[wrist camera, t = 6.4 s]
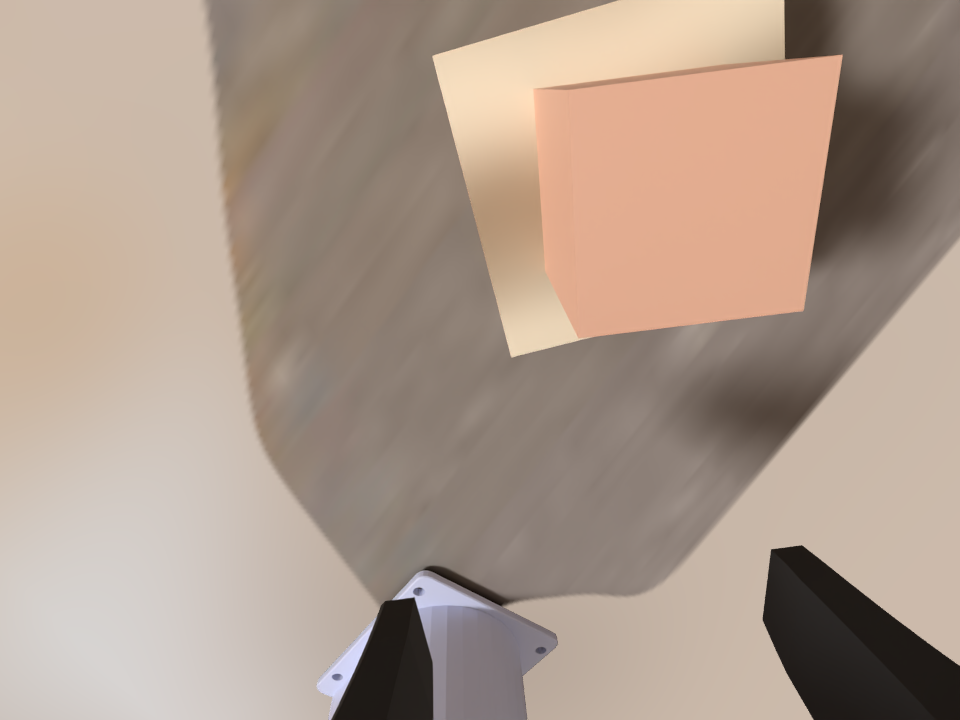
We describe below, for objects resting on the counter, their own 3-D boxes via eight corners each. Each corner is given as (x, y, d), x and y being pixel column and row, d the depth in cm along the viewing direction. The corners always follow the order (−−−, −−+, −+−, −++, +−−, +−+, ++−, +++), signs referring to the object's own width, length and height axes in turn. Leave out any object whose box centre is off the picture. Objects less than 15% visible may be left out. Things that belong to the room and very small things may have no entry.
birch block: (725, 250, 19) (787, 288, 16) (501, 308, 20) (511, 357, 16) (708, -18, 16) (783, -49, 12) (437, 62, 16) (432, 55, 13)
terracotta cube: (709, 250, 15) (803, 311, 11) (545, 271, 15) (578, 338, 11) (723, 64, 13) (843, 54, 9) (533, 88, 13) (568, 90, 9)
